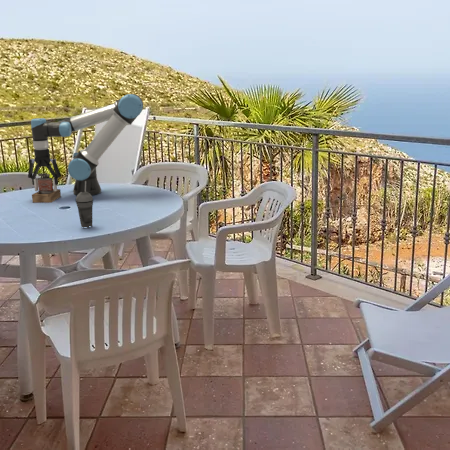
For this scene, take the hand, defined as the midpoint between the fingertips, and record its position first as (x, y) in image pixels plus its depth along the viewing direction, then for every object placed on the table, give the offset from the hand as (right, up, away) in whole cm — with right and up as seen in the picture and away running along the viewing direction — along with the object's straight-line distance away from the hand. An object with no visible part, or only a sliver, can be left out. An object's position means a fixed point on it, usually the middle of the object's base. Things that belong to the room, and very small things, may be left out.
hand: (46, 190), depth 271 cm
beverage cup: (+36, -19, -51) cm, 65 cm away
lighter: (0, -1, 0) cm, 1 cm away
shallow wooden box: (0, -5, +1) cm, 5 cm away
